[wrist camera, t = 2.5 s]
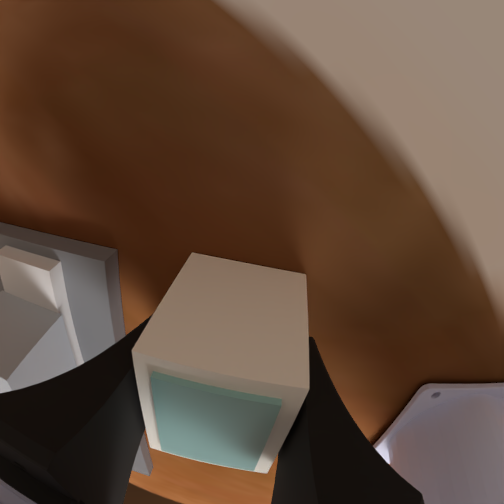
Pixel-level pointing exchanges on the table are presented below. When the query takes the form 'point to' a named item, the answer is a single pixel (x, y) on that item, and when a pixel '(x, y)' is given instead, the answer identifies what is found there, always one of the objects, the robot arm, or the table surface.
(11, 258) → the board
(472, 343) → the table surface
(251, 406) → the cream module
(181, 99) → the table surface
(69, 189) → the table surface
